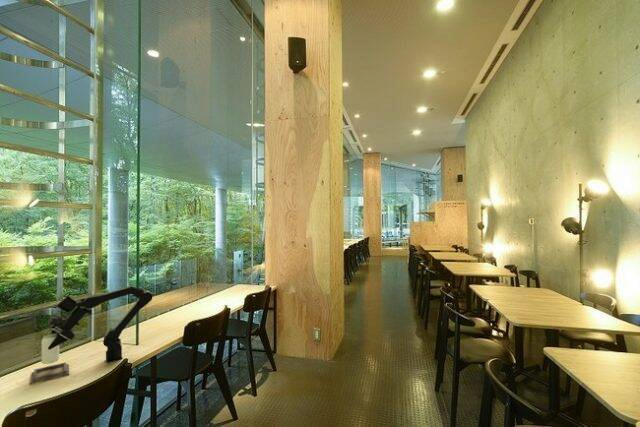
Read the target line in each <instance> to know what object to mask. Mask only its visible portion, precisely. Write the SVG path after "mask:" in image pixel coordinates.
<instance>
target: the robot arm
mask: <svg viewBox="0 0 640 427" xmlns="http://www.w3.org/2000/svg"><path fill="white" fill-rule="evenodd" d="M128 295H132V296H134V297H135V298H137V299H136V301H135V303H134V304H133V306H132V307H131V308H130V309H129V311H127V313H126V314H125V315H124V317H123V318H121V320H120V321H119V322H118V323H117V324H116V326H114V327H113V328H112V327H109V329H108V330H107V331H106V332H105V333H104V335H103V341H102V343H103V344H102V345H104V347H105V348H106V350H105V360H106V361H107V362H108V363H110V362H115V361H119V360H122V359H123V356H122V355H123V350H122V349H123V348H122V339H121V338H120V336H121V334H122V332H123V331H124V330H125V328H126V327H127V326H128V325H129V324H130V322H132V320H133V319H134V317H135V316H136V315H137V314H138V313H139V312H140V311H141V310H142V308H144V307H146V306H147V305H148V304H149V303H150V302H151V301H152V300H153V294H152V292H151V290H144V289H141V288H140V287H139V288H138V287H136V286H134V285H129V286H126V287H123V288H119V289H117V290H113V291H110V292H107V293H106V292H105V293H100V294H99V293H97V294H90V295H88V296H86V297H85V298H83V299H78V300H76V299H75V298H74V297H72V296H71V295H69V294H68V295H67V296H65V297H64V298H63V299H61V300H60V302H58V303H57V304H56V306H55V307H56V308H57V309H59V310H61V311H62V312H64V313H70V314H69V315H68V316H67V315H66V316H64V317H61V316H57V317H56V316H52V315H51V316H50V317H49V319H48V321H47V322H46V323H47V324H48V325H50V326H49V328H50V329H49V330H50V334H56V338H55V339H54V340H53V342H52V343H51V344H50V346H49V347H48V349H49V350H50V349H52V348H54V347H56V346H58V345H59V346H60V345H61V344H63V343H65V342H67V341H72V340H74V338H75V336H76V335H75V333H74V332H73V329H74V328H75V327H76V326H80V322H81V321H82V320H83V319H84V317H86V315H87V314H88V315H89V316H91V315H93V313H92V311H93V308H95V307H98V306H99V305H102V304H103V303H105V302H108V301H112V300H114V299H118V298H121V297H125V296H128Z"/></svg>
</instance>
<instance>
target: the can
mask: <svg viewBox="0 0 640 427" xmlns="http://www.w3.org/2000/svg"><path fill="white" fill-rule="evenodd" d="M55 338H56V334H51V333H50V334H46V335H43V337H42V340H41V363H42V364H43V365H47V364H53V363H56V362H58V361H59V360H60V344H59V345H58V346H56V347H54V348H52V349H50V350H49V349H48V347H49V346H50V344H51V343H52V342H53V340H54V339H55Z"/></svg>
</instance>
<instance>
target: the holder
mask: <svg viewBox="0 0 640 427" xmlns="http://www.w3.org/2000/svg"><path fill="white" fill-rule="evenodd" d="M67 376H70V365H69V363H67V362H61V363H57V364H53V365H48V366H44V367H39V368H35V369H34V370H33V371H32V372H31V375H30V380H29V386H31V385H34V384H39V383H43V382H47V381H51V380H55V379H60V378H62V377H67Z"/></svg>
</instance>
